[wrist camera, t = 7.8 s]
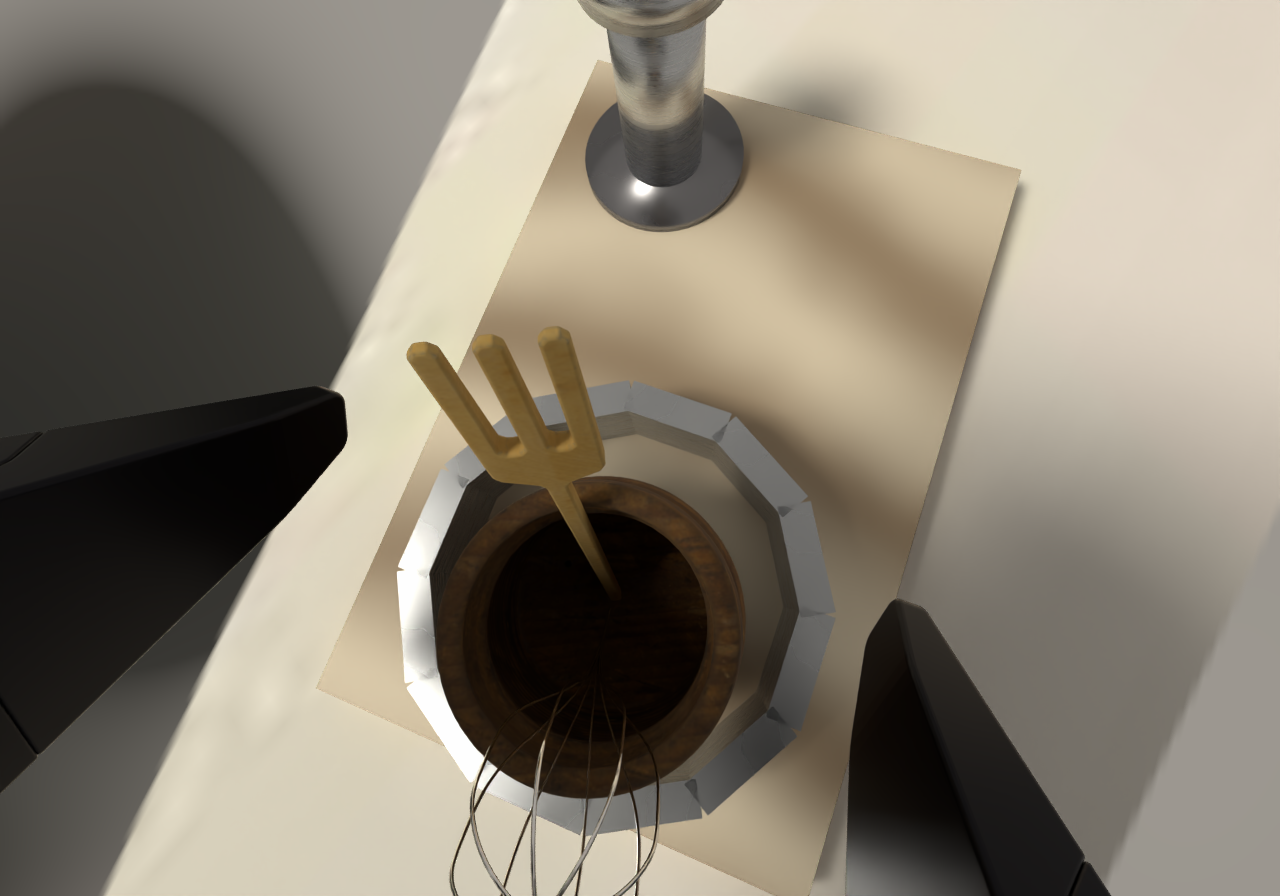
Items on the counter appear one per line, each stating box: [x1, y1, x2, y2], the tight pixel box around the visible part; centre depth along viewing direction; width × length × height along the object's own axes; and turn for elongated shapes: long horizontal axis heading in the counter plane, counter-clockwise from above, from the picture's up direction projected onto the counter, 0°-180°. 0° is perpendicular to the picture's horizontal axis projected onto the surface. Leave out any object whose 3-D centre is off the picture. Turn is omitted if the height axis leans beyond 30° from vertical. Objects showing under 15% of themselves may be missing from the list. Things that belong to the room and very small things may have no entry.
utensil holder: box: [407, 326, 746, 896], centre depth 11 cm, size 6×6×12 cm
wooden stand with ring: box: [316, 0, 1021, 896], centre depth 15 cm, size 22×14×9 cm, turn 159°
